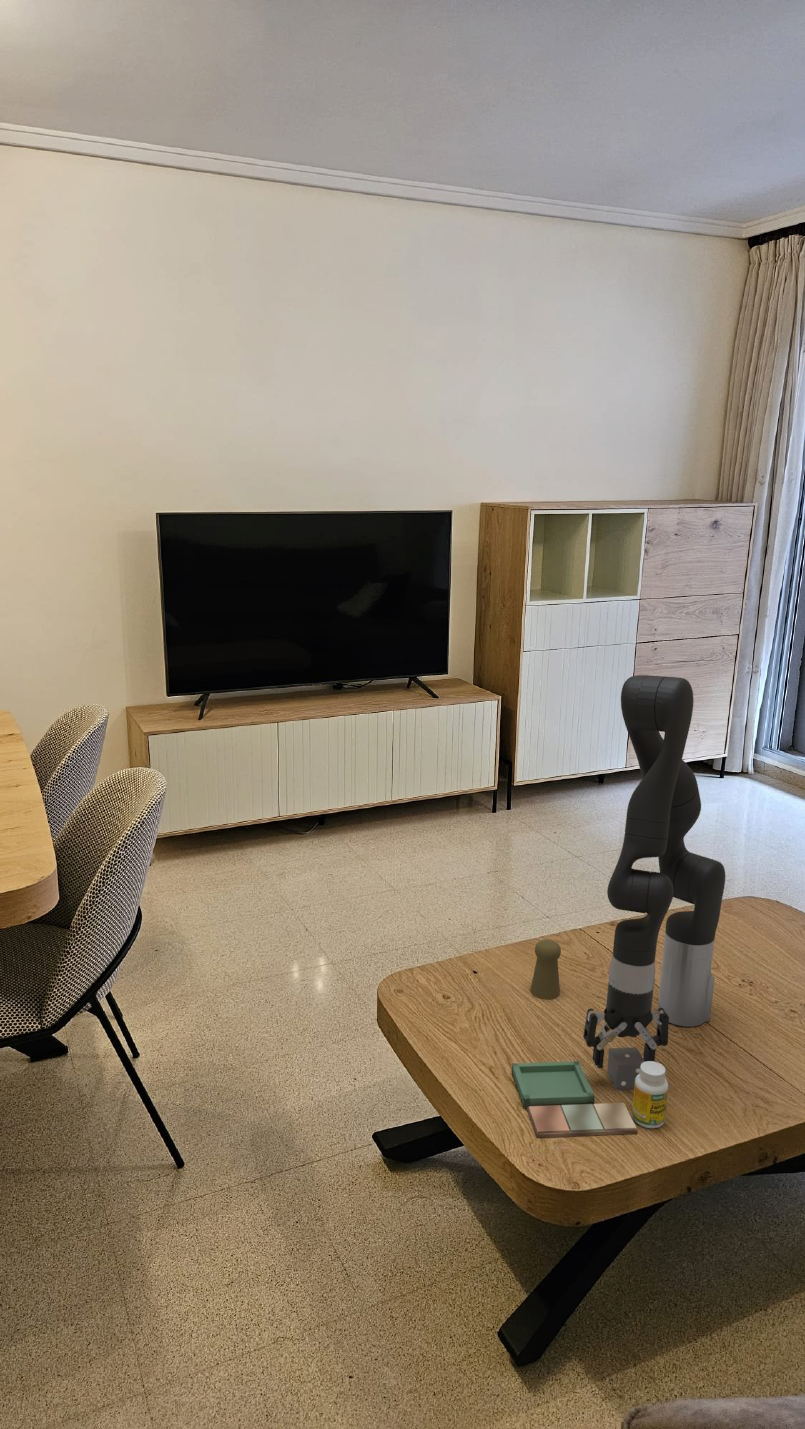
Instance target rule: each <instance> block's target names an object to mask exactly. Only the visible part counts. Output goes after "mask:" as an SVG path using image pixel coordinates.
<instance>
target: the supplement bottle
mask: <svg viewBox="0 0 805 1429" xmlns="http://www.w3.org/2000/svg"><path fill="white" fill-rule="evenodd" d="M668 1094H669V1083H668V1080H667V1079H666V1067H665V1066H664V1065H663V1064H661V1063H660V1062H658V1061H657V1062H656V1061H655V1062H654V1061H646V1062H643V1063H642V1064H641V1066H640V1074H638V1075H637V1076H636V1078H635V1084H634V1089H633V1098H632V1108H631V1109H632V1110H631V1111H632V1112H631V1115H632V1116H631V1118H632V1120H633V1122H634V1123H636V1124H638V1125H639V1126H641V1127H643V1128H646V1129H658V1128H660V1127H662V1126H663V1125H664V1124H665V1120H666V1114H667V1104H668Z"/></svg>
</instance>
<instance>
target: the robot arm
mask: <svg viewBox="0 0 805 1429" xmlns="http://www.w3.org/2000/svg"><path fill="white" fill-rule="evenodd" d="M620 709H621V713H622V714H621V715H622V718H623V721H624V724H625V728H626V730H627V734H628V737H629V739H630V743H631V744H632V747H633V751H634V753H635V755H636V759H637V762H638V767H639V770H640V774H641V780H640V782H639V783H638V784H637V785H636V788H635V789H634V790H633V792H632V794H631V796H630V799H629V801H628V805H627V809H626V817H625V828H624V837H623V842H622V843H623V844H622V848H621V851H620V855H619V858H618V861H617V863H616V865H615V868H614V871H613V872H612V874H611V877H610V879H609V882H608V885H607V890H606V891H607V892H606V894H607V898H608V901H609V904H610V905H611V906H612V907H613V908H615V909H617V910H621V911H624V912H625V911H627V912H633V913H640V914H645V916H643V917H640V918H639V917H638V918H629V919H624V920H621V921H619V922H618V923H617V925H615V926H616V927H615V929H614V935H613V936H614V937H613V947H612V955H611V961H610V963H609V964H610V966H609V972H608V973H609V974H608V984H607V994H606V1005H605V1009H604V1010H603V1011H595V1010H594V1008H588V1009H587V1011H586V1017H585V1022H584V1031H583V1036H582V1037H583V1040H584V1041H585V1044H586V1046H587V1047H588V1048H591V1047H592V1049H593V1050H592V1060H593V1062H594V1065H595V1066H597V1069H603V1068H604V1059H605V1049H604V1048H605V1047H607V1045H608V1044H609V1043H612V1042H613V1041H614V1040H615V1039H616V1038H617V1037H618V1038H625V1037H626V1038H627V1037H630V1038H637V1036H639V1035H640V1036H641V1037H642V1039H643V1040H644V1050H643V1056H642V1058H643V1059H644V1061H645V1062H646V1061H654V1062H656V1053H657V1052H656V1050H657V1049H658V1047H660V1046H662V1047H666V1046H667V1045H668V1043H669V1028H670V1027H669V1025H670V1024H672V1025H675V1026H680V1027H688V1028H689V1027H698V1026H700V1025H702V1024H703V1023H709V1022H711V1015H712V1014H711V1013H712V1005H713V997H714V987H715V976H714V975H713V974H712V967H713V957H714V948H715V947H714V946H715V941H716V940H715V938H716V934H717V933H716V932H717V929H718V925H719V921H720V914H721V909H722V903H723V897H724V891H725V887H726V886H725V884H726V870H725V867H724V865H723V863H722V862H721V861H718V860H716V859H713V858H709V857H706V856H703V855H699V854H697V853H694V852H691V851H689V850H688V849H687V848H686V846H685V840H684V838H685V836H686V835H687V834H688V833H689V831H690V830H691V829H692V828H693V827H694V825H695V824H696V823H697V820H699V817H700V815H701V812H702V801H701V795H700V790H699V784H698V781H697V780H698V779H697V777H696V775H695V773H694V772H693V770H692V769H691V767H690V766H689V765H688V764H687V762H686V761H684V760H683V757H684V753H685V749H686V744H687V740H688V735H689V731H690V727H691V723H692V717H693V711H694V692H693V688H692V685H691V683H690V681H689V680H688V679H686V678H685V677H678V676H665V675H664V676H662V675H648V674H647V675H646V674H637V675H632V676H630V677H628V678H627V679H626V680H625V681H624V683H623V685H622V688H621V692H620ZM660 732H663V733H664V736H663V737H662V735H661V733H660ZM649 858H657V859H658V867H659V871H648V870H645V869H644V870H643V869H636V868H633V865H634V863H635V862H636V861H638V860H641V859H649ZM673 898H675V899H677V900H680V901H683V902H685V903H688V904H692V905H694V909H693V910H683V911H677V912H674V913H672V914H670V915H668V917H667V918H666V921H665V931H664V941H663V951H662V952H663V953H662V963H661V970H660V971H661V972H660V979H659V980H660V982H659V992H658V999H657V1000H658V1001H657V1010H655V1011H652V1007H653V1006H652V1004H653V997H654V996H653V995H654V987H655V983H656V978H655V977H656V953H657V945H658V939H659V938H658V937H659V933H660V930H661V926H662V924H663V921H664V919H665V917H666V915H667V913H668V911H669V910H670V909H669V908H670V906H671V903H672V901H673ZM602 1020H604V1023H603V1024H602V1026H601V1027H600V1029H599V1031H598V1033H597V1034H596V1032H597V1026H599V1025H600V1024H601V1022H602ZM653 1020H654V1023H655V1024H656V1035H653V1036H652V1034H651V1032H650V1031H649V1030H648V1029H647V1027H648V1026H649V1025H650V1024H651V1022H652V1021H653ZM669 1023H670V1024H669Z"/></svg>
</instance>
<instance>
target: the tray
mask: <svg viewBox="0 0 805 1429" xmlns="http://www.w3.org/2000/svg"><path fill="white" fill-rule="evenodd" d="M511 1075H512V1078H513V1081H514V1084H515V1087H516V1090H517V1093H518V1096H519V1099H520V1102H521V1105H522V1108H523V1109H527V1107H529V1106H552V1105H560V1106H561V1105H578V1104H595V1097H596V1096H595V1094H594V1092H593V1089H592V1088H591V1084H590V1083H589V1080H588V1079H587V1077H586V1074H585V1072H584V1070H583V1068H582V1065H581V1063H580V1061H576V1060H575V1061H550V1062H548V1061H547V1062H545V1061H544V1062H519V1063H517V1062H516V1063H512V1064H511Z"/></svg>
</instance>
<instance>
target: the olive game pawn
mask: <svg viewBox="0 0 805 1429" xmlns="http://www.w3.org/2000/svg"><path fill="white" fill-rule="evenodd" d="M534 953H535V956H536V960H535V966H534V971H533V976H532V980H531V984H530V989H529V990H530V993H531V995H532V996H533V997H535V998H537V999H540V1000H546V1001H547V1000H548V1001H549V1000H555V999H556V998H558V997H559V996H560V994H561V989H560V975H559V963H558V960H559V958H560V957H561V953H562V948H561V947H560V944H559V943H558V942H557V941H554V940H551V939H542V940H539V941H538V942H537V943H536V944H535V947H534Z"/></svg>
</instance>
